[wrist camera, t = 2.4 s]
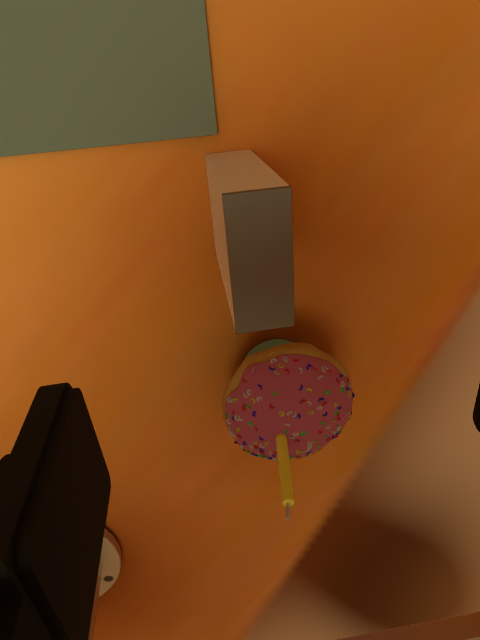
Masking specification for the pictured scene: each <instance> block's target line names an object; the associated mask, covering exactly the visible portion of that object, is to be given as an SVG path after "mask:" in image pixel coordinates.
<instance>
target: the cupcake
mask: <svg viewBox="0 0 480 640" xmlns="http://www.w3.org/2000/svg"><path fill="white" fill-rule="evenodd" d="M353 397H354V393H353V392H352V388H351V380H350V377H349V374H348V372H347V370H346V368H345V367H344V365H343V364H342V363H341V362H339V361H338V360H337V359H336V358H335V357H333V356H332V355H330V354H328V353H326V352H323V351H321V350H319V349H318V348H317V347H315V346H314V345H312V344H309V343H301V342H291V341H289V340H285V339H272V340H267V341H264V342H262V343H260V344H258V345H257V346H255V347H254V348H253V349H252V350H251V351H250V352H249V353H248V354H247V356H246V357H245V359H244V360H243V362H242V363H241V365H240V366H239V368H238V369H237V371H236V372H235V373H234V375H233V376H232V378H231V380H230V382H229V383H228V385H227V387H226V390H225V393H224V396H223V415H224V419H225V422H226V425H227V427H228V432H230V435H231V436H232V437H233V438H234V439H235V441H236V442H234V443H237V444H239V445H240V447H241V449H243V450H244V451H246V452H247V451H248V452H247V453H248V454H249V455H252V454H253V453H254V454H253V455H254V456H258V457H259V458H267V459H268V460H271V459H272V458H273V460H275V461H276V460H278V467H279V477H280V487H281V497H282V504H283V506H285V507H286V520H289V518H290V507H291V506H293V505H294V494H293V486H292V478H291V470H290V462H289V460H291V459H292V458H301V457H308V455H309V454H314V453H315V452H316V451H319V450H321V449H322V447H324V446H325V445H327V444H328V443H329V442H330V441H331V440H332V439H333V438H336V437H338V435H337V434H340V433H341V429H342V428H343V427H344V425H345V424H346V423H347V421H348V420H349V419H350V414H351V415H352V411H351V409H352V402H353ZM250 452H251V454H250Z"/></svg>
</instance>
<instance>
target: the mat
mask: <svg viewBox="0 0 480 640" xmlns="http://www.w3.org/2000/svg"><path fill="white" fill-rule="evenodd" d="M207 135H217V124H216V113H215V103H214V93H213V83H212V73H211V62H210V52H209V42H208V32H207V22H206V11H205V1H204V0H0V157H5V156H15V155H24V154H34V153H44V152H53V151H63V150H73V149H82V148H92V147H101V146H111V145H121V144H130V143H140V142H150V141H159V140H169V139H178V138H188V137H198V136H207Z"/></svg>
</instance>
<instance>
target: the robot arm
mask: <svg viewBox="0 0 480 640" xmlns="http://www.w3.org/2000/svg"><path fill="white" fill-rule="evenodd" d="M473 420H474V424H475V426H476V428H477V429H478V431H479V432H480V384H479V389H478V393H477V398H476V402H475V407H474V411H473ZM110 489H111V483H110V475H109V472H108V469H107V466H106V463H105V460H104V457H103V454H102V451H101V448H100V445H99V442H98V439H97V436H96V433H95V430H94V427H93V424H92V421H91V418H90V415H89V412H88V410H87V407H86V404H85V401H84V398H83V395H82V392H81V390H80V389H79V388H73V389H72V387H71V385H70V384H69V383H61V384H54V385H47V386H41V387H39V389H38V390H37V393H36V395H35V398H34V400H33V402H32V405H31V407H30V409H29V412H28V414H27V416H26V419H25V421H24V423H23V426H22V428H21V430H20V433H19V435H18V438H17V440H16V442H15V445H14V447H13V449H12V452H11V454H8V455H5V456H4V457H3V458H2V459H1V460H0V640H93V633H94V626H95V618H96V611H97V604H98V597H100V596H102V595H103V594H104V593H105V592H106V591H108V590H109V589H110V588H111V587H112V585H113V584H114V583H115V582H116V580H117V578H118V576H119V573H120V568H121V560H122V559H121V549H120V546H119V543H118V542H117V540H116V539H115V538H114V536H113V535H112V534H111V533H110V532H109V531H108V530H107V529H105V524H106V517H107V510H108V503H109V497H110ZM338 640H480V612H475V613H470V614H465V615H460V616H455V617H450V618H444V619H439V620H435V621H429V622H424V623H419V624H414V625H409V626H404V627H399V628H394V629H389V630H384V631H379V632H374V633H369V634H363V635H358V636H353V637H348V638H343V639H338Z"/></svg>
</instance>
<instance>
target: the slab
mask: <svg viewBox="0 0 480 640" xmlns="http://www.w3.org/2000/svg"><path fill="white" fill-rule="evenodd" d="M205 161H206V170H207V179H208V188H209V197H210V205H211V214H212V223H213V232H214V241H215V250H216V256H217V260H218V264H219V268H220V272H221V276H222V280H223V284H224V288H225V292H226V296H227V300H228V304H229V308H230V311H231V315H232V319H233V323H234V327H235V331H236V334H241V333H248V332H255V331H262V330H270V329H277V328H284V327H291V326H295V314H294V273H293V231H292V189H291V186H290V185H288V184H287V183H286V182H285V181H284V180H283V179H282V178H281V177H280V176H279V175H278V174H277V173H275V172H274V171H273V170H272V169H271V168H270V167H269V166H268V165H267V164H266V163H265V162H264V161H262V160H261V159H260V158H259V157H258V156H257V155H256V154H255V153H254V152H253V151H252V150H250V149H247V150H238V151H228V152H219V153H210V154H205Z"/></svg>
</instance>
